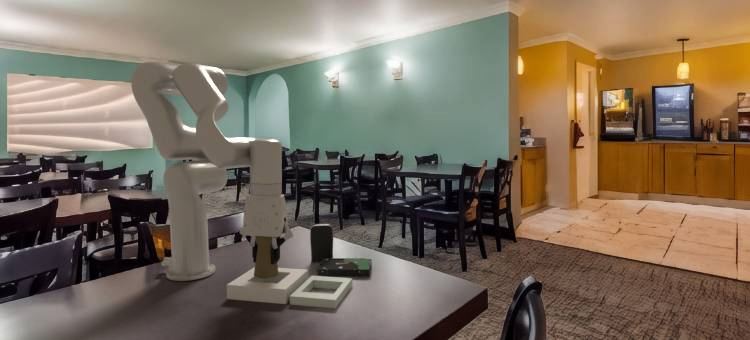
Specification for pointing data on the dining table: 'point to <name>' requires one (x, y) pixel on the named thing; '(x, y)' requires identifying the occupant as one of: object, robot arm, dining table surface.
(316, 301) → the green square frame
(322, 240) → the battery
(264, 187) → the robot arm
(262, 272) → the cork
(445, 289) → the dining table surface
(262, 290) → the beige square frame
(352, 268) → the disk drive
